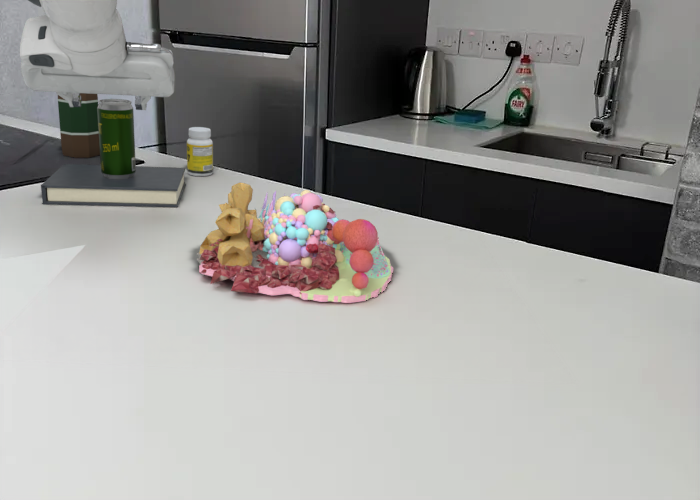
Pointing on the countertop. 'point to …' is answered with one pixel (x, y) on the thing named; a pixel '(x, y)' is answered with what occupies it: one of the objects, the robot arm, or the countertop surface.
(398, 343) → the countertop surface
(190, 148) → the supplement bottle
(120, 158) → the beer can
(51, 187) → the book
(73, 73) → the robot arm
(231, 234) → the candy landscape model
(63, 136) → the beer bottle
